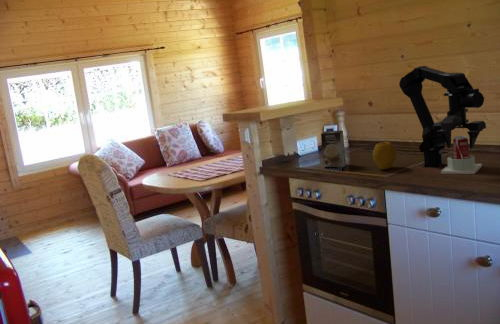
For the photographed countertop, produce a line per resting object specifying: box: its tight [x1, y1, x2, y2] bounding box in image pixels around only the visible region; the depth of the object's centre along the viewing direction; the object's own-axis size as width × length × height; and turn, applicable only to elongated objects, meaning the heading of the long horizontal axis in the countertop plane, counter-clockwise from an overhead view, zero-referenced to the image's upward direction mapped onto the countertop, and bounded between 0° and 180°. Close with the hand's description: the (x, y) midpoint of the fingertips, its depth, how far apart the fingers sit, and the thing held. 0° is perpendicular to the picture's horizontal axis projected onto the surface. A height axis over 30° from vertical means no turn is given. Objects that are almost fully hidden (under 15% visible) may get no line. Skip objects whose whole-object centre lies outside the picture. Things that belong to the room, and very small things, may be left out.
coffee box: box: [320, 130, 347, 168], centre depth 237 cm, size 9×6×16 cm
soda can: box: [452, 135, 470, 159], centre depth 197 cm, size 5×5×12 cm
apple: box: [372, 141, 397, 170], centre depth 218 cm, size 10×10×12 cm
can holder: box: [440, 154, 483, 175], centre depth 199 cm, size 12×12×5 cm
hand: (460, 148), depth 197 cm, fingers open, 9 cm apart
